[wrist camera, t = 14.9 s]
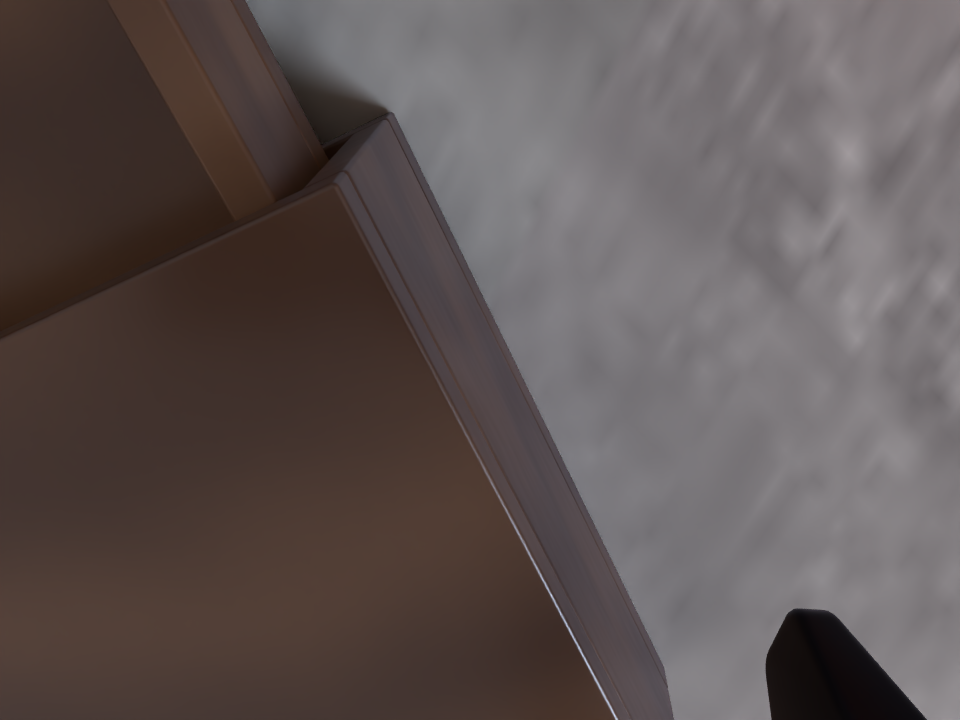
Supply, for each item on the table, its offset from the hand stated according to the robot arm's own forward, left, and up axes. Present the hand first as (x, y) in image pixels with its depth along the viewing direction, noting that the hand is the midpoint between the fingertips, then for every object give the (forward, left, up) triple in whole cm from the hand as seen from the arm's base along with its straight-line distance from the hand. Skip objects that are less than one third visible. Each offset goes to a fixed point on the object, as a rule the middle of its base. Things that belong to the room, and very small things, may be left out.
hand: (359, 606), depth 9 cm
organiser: (-3, +7, -11) cm, 14 cm away
